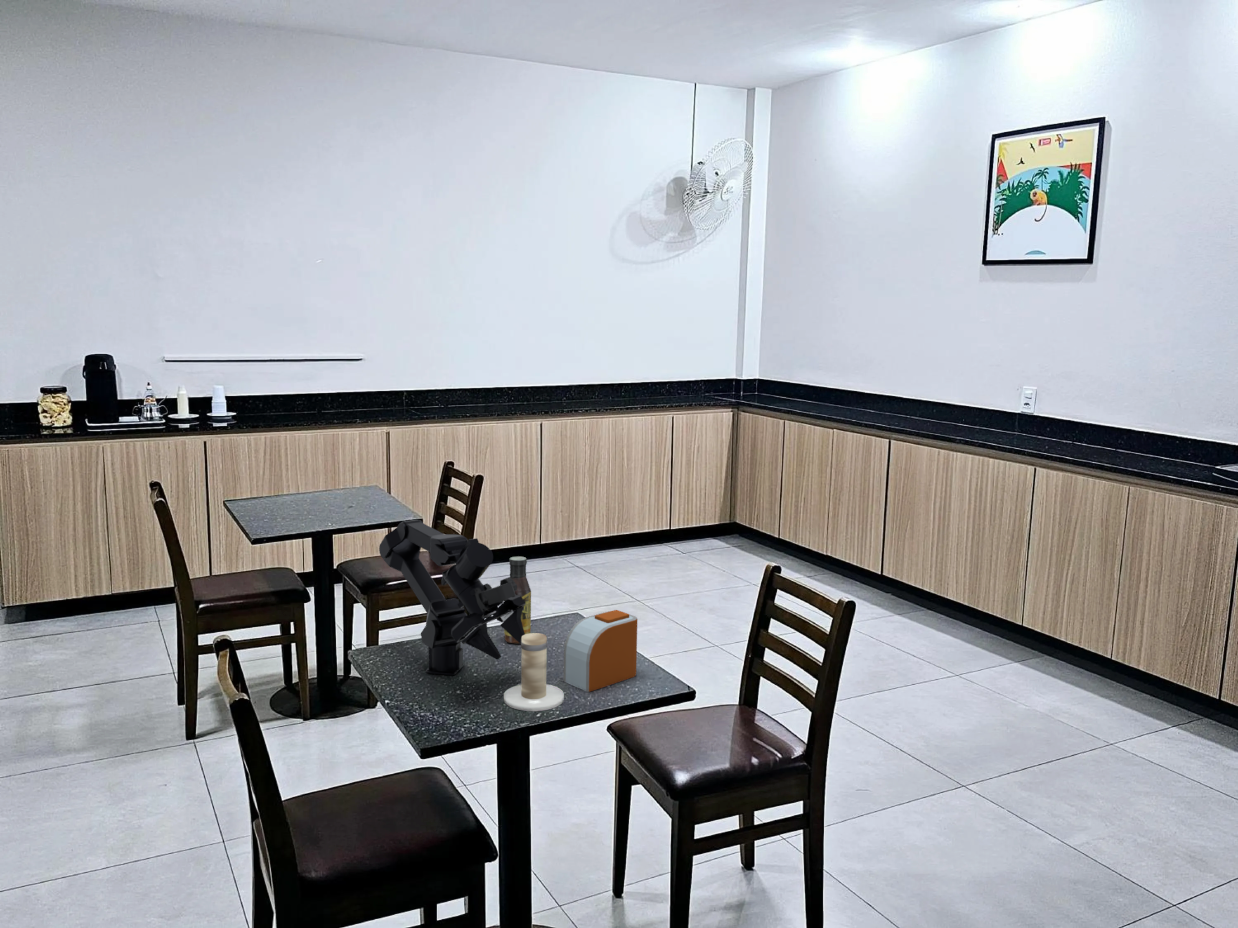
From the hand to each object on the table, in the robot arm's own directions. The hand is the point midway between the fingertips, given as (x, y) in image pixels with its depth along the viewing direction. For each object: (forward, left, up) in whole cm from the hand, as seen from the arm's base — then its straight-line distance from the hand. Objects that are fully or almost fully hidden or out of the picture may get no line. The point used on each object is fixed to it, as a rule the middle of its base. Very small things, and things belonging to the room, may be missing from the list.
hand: (512, 651), depth 203 cm
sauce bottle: (-8, +31, -9) cm, 34 cm away
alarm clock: (+16, +12, -9) cm, 22 cm away
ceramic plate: (+5, -2, -9) cm, 10 cm away
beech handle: (+5, -2, -8) cm, 10 cm away
